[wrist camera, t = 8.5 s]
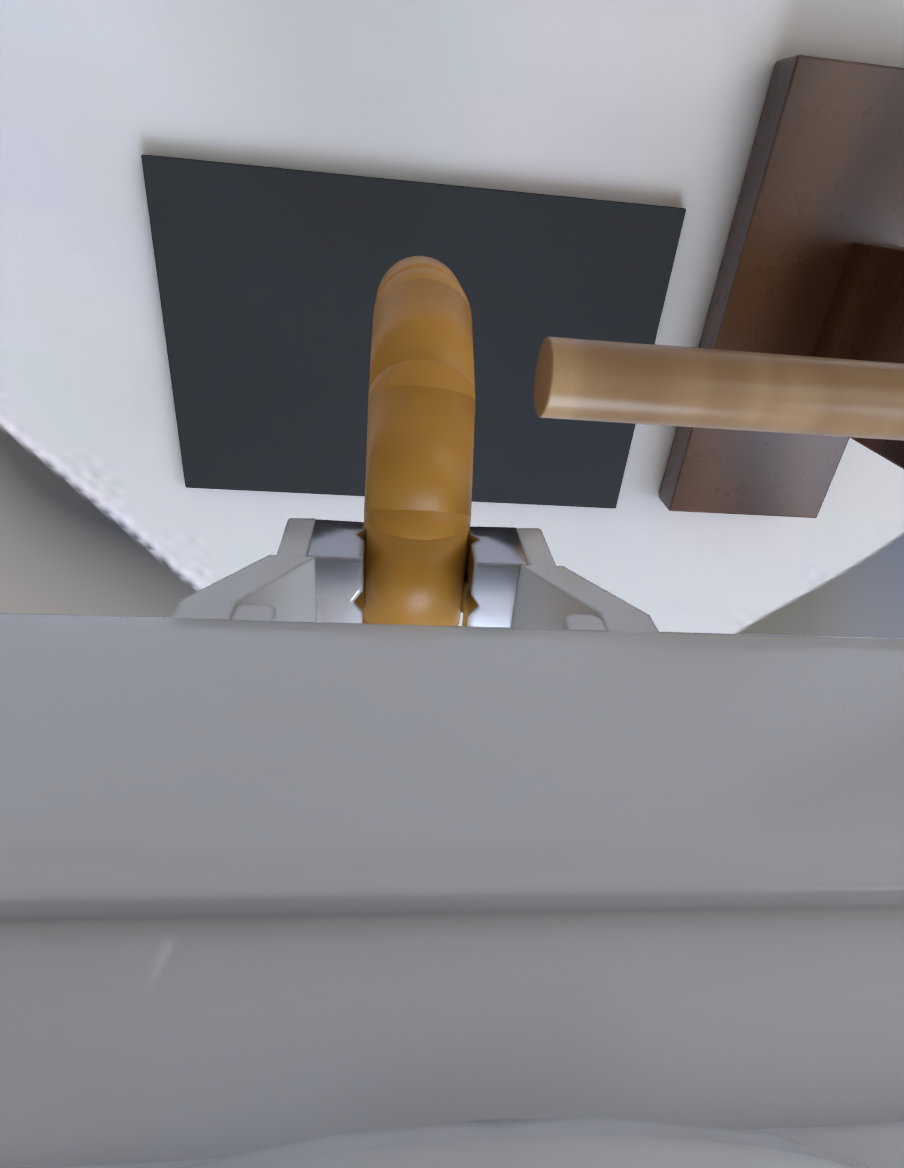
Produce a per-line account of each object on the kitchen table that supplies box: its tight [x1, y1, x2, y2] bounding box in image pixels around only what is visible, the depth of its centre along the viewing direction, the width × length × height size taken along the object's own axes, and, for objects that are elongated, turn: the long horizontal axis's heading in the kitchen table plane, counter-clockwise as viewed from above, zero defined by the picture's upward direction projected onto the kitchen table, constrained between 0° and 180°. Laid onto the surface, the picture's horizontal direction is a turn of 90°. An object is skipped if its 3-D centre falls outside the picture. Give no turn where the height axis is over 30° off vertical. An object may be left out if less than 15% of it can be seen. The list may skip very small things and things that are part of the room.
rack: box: [534, 55, 904, 518], centre depth 21 cm, size 16×16×14 cm
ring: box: [363, 256, 475, 626], centre depth 16 cm, size 10×2×10 cm, turn 175°
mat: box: [141, 155, 686, 508], centre depth 26 cm, size 19×12×1 cm, turn 85°
